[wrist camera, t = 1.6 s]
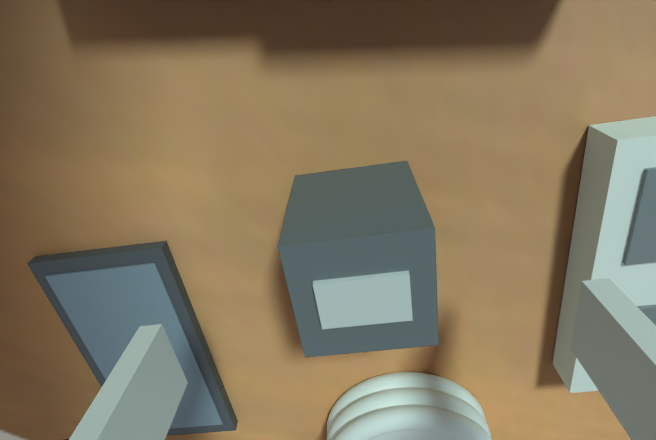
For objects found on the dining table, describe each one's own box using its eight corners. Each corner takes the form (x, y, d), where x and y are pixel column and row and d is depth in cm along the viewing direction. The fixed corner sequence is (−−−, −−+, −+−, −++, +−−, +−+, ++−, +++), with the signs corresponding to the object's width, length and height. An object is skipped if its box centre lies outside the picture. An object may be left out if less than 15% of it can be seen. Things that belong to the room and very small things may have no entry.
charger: (295, 175, 18) (276, 249, 13) (406, 160, 18) (436, 231, 12) (313, 265, 21) (304, 361, 15) (412, 254, 20) (439, 349, 15)
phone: (42, 250, 21) (26, 264, 20) (170, 235, 21) (160, 248, 20) (140, 421, 28) (131, 439, 27) (239, 413, 27) (235, 431, 26)
